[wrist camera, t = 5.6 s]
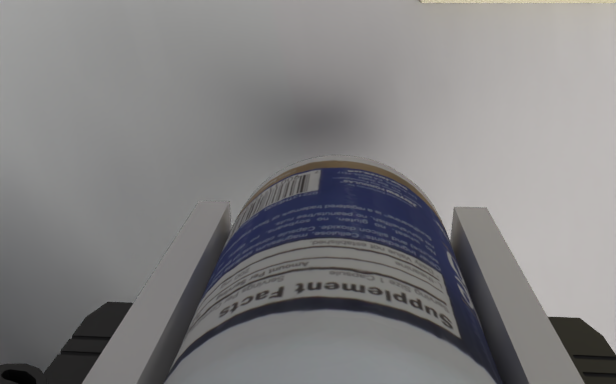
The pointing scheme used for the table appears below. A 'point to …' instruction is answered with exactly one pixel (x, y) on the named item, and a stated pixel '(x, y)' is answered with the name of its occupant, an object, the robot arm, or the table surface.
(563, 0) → the notepad
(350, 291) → the pill bottle
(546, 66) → the table surface
